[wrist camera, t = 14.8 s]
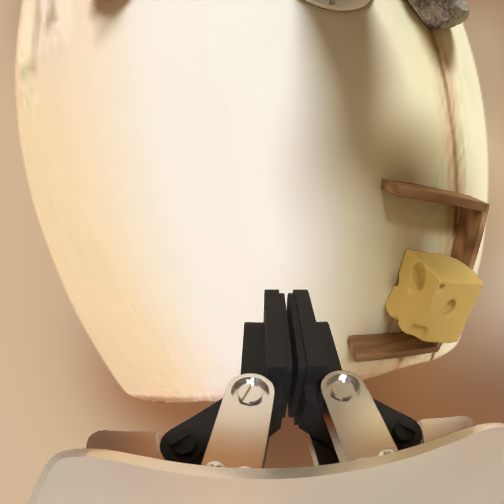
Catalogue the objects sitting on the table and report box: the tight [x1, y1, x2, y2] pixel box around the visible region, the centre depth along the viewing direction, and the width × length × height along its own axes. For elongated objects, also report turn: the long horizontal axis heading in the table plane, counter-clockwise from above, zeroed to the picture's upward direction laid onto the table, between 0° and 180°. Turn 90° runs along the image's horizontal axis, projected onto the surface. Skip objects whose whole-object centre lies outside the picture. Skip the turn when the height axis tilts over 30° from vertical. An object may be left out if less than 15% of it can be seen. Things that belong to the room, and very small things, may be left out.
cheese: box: [385, 249, 483, 343], centre depth 33 cm, size 10×11×10 cm
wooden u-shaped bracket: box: [347, 179, 489, 362], centre depth 35 cm, size 26×17×5 cm, turn 178°
